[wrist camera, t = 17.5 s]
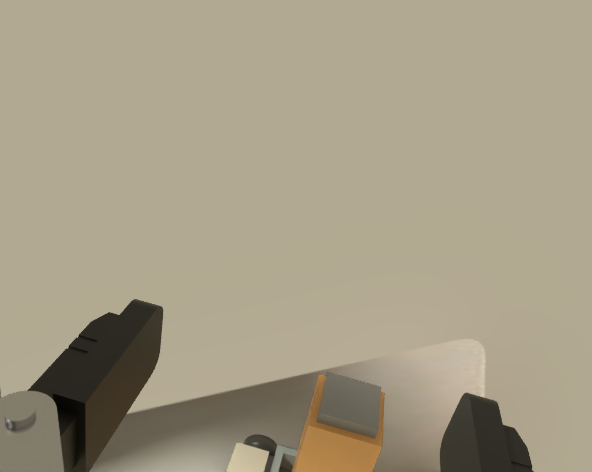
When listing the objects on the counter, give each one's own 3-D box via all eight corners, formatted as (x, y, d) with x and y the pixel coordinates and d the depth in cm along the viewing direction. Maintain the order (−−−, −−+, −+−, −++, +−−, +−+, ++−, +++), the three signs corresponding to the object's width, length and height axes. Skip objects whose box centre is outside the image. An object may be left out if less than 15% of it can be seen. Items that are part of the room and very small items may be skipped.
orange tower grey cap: (338, 555, 35) (385, 437, 30) (276, 536, 36) (310, 416, 30) (345, 498, 39) (387, 384, 34) (288, 481, 40) (321, 365, 34)
